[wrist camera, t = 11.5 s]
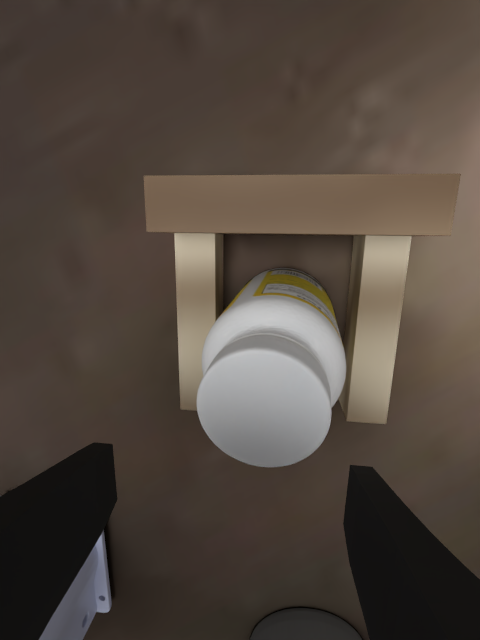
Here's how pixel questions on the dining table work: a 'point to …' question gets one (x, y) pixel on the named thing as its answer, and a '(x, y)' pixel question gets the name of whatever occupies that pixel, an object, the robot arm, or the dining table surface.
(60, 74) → the dining table surface
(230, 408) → the supplement bottle
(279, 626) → the mug
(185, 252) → the can dock
